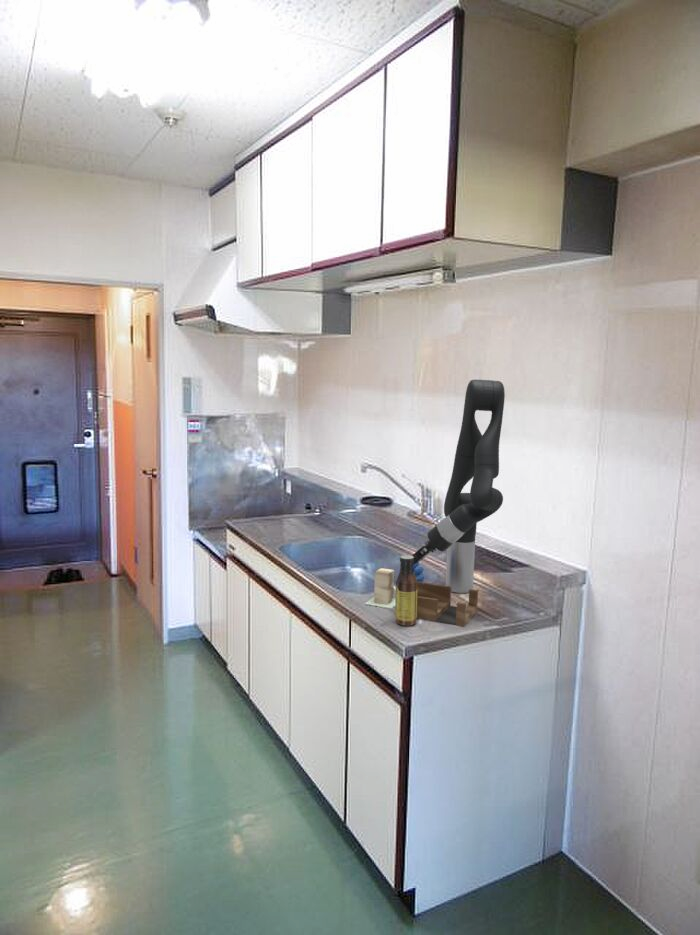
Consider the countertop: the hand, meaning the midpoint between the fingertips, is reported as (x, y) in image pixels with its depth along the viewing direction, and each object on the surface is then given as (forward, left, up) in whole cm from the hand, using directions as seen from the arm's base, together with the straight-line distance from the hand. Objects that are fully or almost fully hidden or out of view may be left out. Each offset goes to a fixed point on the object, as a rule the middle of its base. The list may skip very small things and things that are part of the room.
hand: (409, 564), depth 206 cm
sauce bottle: (+14, +4, -14) cm, 20 cm away
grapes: (-14, -3, -14) cm, 20 cm away
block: (0, -8, -13) cm, 15 cm away
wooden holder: (+1, +9, -13) cm, 16 cm away
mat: (0, -8, -13) cm, 16 cm away
